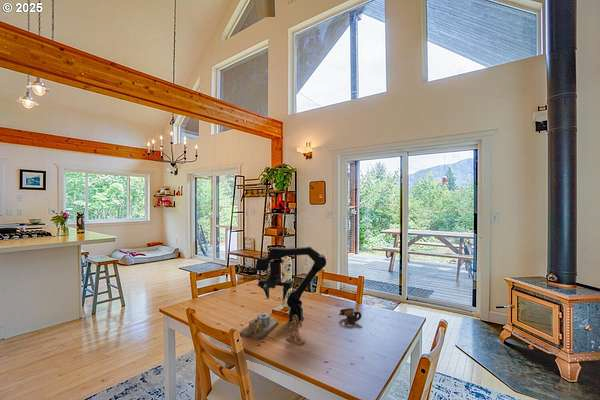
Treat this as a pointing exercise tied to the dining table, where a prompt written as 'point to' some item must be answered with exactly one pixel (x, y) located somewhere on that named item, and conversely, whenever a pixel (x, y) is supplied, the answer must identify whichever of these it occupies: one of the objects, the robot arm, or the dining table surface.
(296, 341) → the gingerbread man figurine
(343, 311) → the pottery mug
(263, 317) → the loose gear
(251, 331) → the gear board
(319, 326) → the dining table surface
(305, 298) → the dining table surface
